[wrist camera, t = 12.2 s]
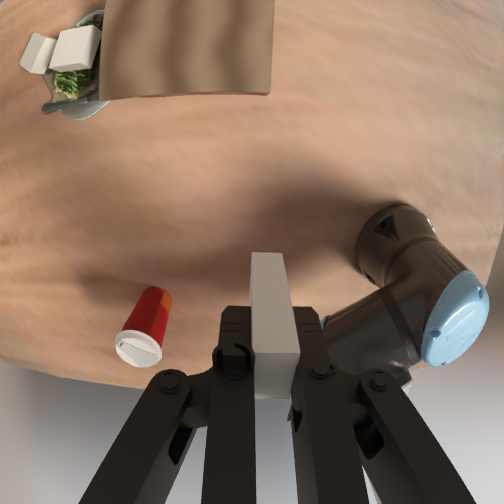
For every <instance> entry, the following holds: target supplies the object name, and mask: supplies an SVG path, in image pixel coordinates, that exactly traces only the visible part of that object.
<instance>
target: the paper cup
mask: <svg viewBox="0 0 504 504" xmlns="http://www.w3.org/2000/svg"><path fill="white" fill-rule="evenodd" d="M170 306H171V298H170V296H169V294H168V293H167V292H166V291H165V290H163V289H161V288H158V287H150V288H148V289H146V290H145V292H144V293H143V294H142V296H141V298H140V299H139V301H138V303H137V304H136V306H135V308H134V310H133V311H132V313H131V315H130V316H129V318H128V320H127V321H126V323H125V325H124V327H123V329H122V331H121V332H120V333H118V334H117V336H116V339H115V342H116V351H117V353H118V355H119V356H120V357H121V358H122V359H123V360H124V361H125V362H127V363H129V364H131V365H133V366H136V367H141V368H145V367H151V366H152V365H155V364H156V363H157V362H159V361H160V360H161V358H162V351H161V346H162V342H163V337H164V333H165V328H166V324H167V320H168V315H169V311H170Z"/></svg>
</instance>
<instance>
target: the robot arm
mask: <svg viewBox="0 0 504 504" xmlns="http://www.w3.org/2000/svg"><path fill="white" fill-rule="evenodd" d="M356 259H357V263H358V265H359V267H360V269H361V271H362V272H363V274H364V276H365V277H366V278H367V279H368V280H369V281H370V282H371V283H373V284H374V285H376V286H377V287H379V288H380V289H379V290H377V291H375V292H373V293H371V294H370V295H368V296H366V297H364V298H362V299H361V300H359V301H357V302H355V303H353V304H351V305H349V306H347V307H346V308H344V309H342V310H340V311H338V312H336V313H334V314H332V315H327V316H325V317H324V318H323V319H322V320H321V321H320V320H319V316H318V314H317V313H316V312H315V311H314V309H313V308H312V307H292V302H291V297H290V292H289V286H288V281H287V276H286V271H285V265H284V260H283V255H282V253H265V252H252V258H251V279H250V306H227V307H226V308H225V310H224V311H223V312H222V315H221V324H220V332H219V341H218V346H217V347H216V348H214V351H213V353H212V361H213V366H212V367H211V368H210V369H209V370H207V371H205V372H203V373H200V374H195V375H190V376H187V375H186V374H185V373H183V372H181V371H179V370H175V369H168V370H163V371H161V372H159V373H157V374H156V375H155V376H154V377H153V378H152V379H151V381H150V383H149V384H148V386H147V388H146V389H145V391H144V393H143V394H142V396H141V398H140V399H139V401H138V403H137V404H136V406H135V408H134V409H133V411H132V413H131V414H130V416H129V418H128V420H127V421H126V423H125V424H124V426H123V428H122V430H121V431H120V433H119V434H118V436H117V438H116V439H115V441H114V443H113V445H112V446H111V448H110V450H109V452H108V453H107V455H106V457H105V458H104V460H103V462H102V463H101V465H100V467H99V469H98V470H97V472H96V474H95V476H94V477H93V479H92V481H91V483H90V484H89V486H88V488H87V490H86V491H85V493H84V495H83V497H82V498H81V500H80V502H79V504H165V501H166V499H167V497H168V495H169V492H170V490H171V488H172V485H173V483H174V481H175V479H176V477H177V474H178V472H179V470H180V467H181V465H182V463H183V461H184V458H185V456H186V454H187V451H188V449H189V447H190V444H191V442H192V440H193V438H194V435H195V433H196V430H197V428H200V427H205V426H208V428H207V438H206V449H205V461H204V472H203V473H204V474H203V485H202V499H201V504H256V453H255V399H289V397H290V393H291V399H292V404H291V407H290V411H289V414H288V419H287V421H290V419H291V427H292V436H293V448H294V459H295V471H296V482H297V495H298V504H369V499H368V494H367V489H366V483H365V479H364V474H363V469H362V466H363V468H364V470H365V471H366V473H367V476H368V479H369V482H370V484H371V487H372V490H373V492H374V495H375V498H376V501H377V504H476V502H475V501H474V499H473V497H472V495H471V494H470V492H469V490H468V489H467V487H466V486H465V484H464V482H463V481H462V479H461V477H460V476H459V474H458V473H457V471H456V469H455V468H454V466H453V464H452V463H451V461H450V460H449V458H448V457H447V455H446V454H445V452H444V451H443V449H442V447H441V446H440V444H439V443H438V441H437V440H436V438H435V437H434V435H433V434H432V432H431V431H430V429H429V428H428V426H427V425H426V423H425V422H424V420H423V419H422V417H421V416H420V414H419V413H418V411H417V410H416V408H415V407H414V405H413V404H412V402H411V401H410V400H409V398H408V397H407V396H408V392H409V389H410V387H411V384H412V381H413V380H412V377H411V375H410V373H409V370H408V368H409V367H411V366H413V365H415V364H416V363H418V362H420V361H422V360H423V361H424V362H426V363H427V364H428V365H430V366H434V367H438V366H440V365H446V364H448V363H450V362H452V361H453V360H455V359H456V358H458V357H459V356H460V355H461V354H463V353H464V352H465V351H466V350H467V349H468V348H469V347H470V346H471V344H472V343H473V342H474V341H475V339H476V338H477V336H478V335H479V333H480V331H481V329H482V328H483V326H484V324H485V321H486V318H487V315H488V310H489V298H488V294H487V292H486V290H485V288H484V287H483V286H482V284H481V283H480V282H479V281H478V279H477V278H476V276H475V274H474V273H473V272H472V271H470V270H469V269H468V268H467V267H466V266H465V265H464V264H462V263H461V262H460V261H459V260H458V259H457V258H456V257H455V256H454V255H453V254H452V253H451V252H450V251H449V250H448V249H447V248H446V247H445V246H443V245H442V244H441V243H440V242H439V240H438V238H437V236H436V234H435V231H434V229H433V226H432V224H431V222H430V221H429V219H428V218H427V217H426V216H425V215H424V214H423V213H421V212H420V211H419V210H417V209H416V208H414V207H412V206H408V205H393V206H390V207H387V208H385V209H383V210H381V211H379V212H378V213H376V214H375V215H374V216H373V217H372V218H371V219H370V220H369V221H368V222H367V223H366V225H365V226H364V227H363V229H362V231H361V233H360V235H359V238H358V241H357V245H356Z"/></svg>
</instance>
